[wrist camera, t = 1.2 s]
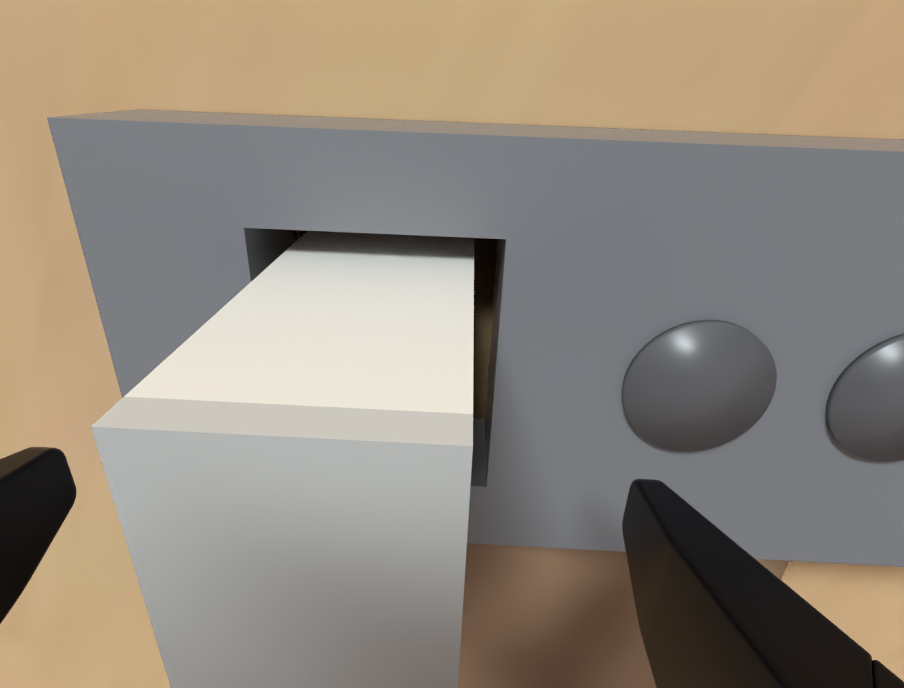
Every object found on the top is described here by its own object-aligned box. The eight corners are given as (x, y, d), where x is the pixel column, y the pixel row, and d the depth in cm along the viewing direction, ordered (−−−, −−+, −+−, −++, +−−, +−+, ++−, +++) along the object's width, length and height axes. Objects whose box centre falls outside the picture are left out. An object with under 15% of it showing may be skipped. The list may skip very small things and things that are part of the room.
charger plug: (474, 229, 14) (472, 445, 6) (465, 404, 16) (454, 736, 8) (316, 223, 14) (90, 426, 6) (329, 397, 16) (180, 720, 8)
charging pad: (788, 523, 17) (798, 537, 17) (706, 727, 22) (711, 743, 22) (444, 505, 18) (443, 518, 17) (436, 711, 22) (435, 726, 22)
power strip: (1099, 147, 12) (1322, 171, 9) (918, 492, 17) (1025, 592, 13) (137, 109, 13) (22, 119, 10) (206, 455, 17) (144, 543, 14)
